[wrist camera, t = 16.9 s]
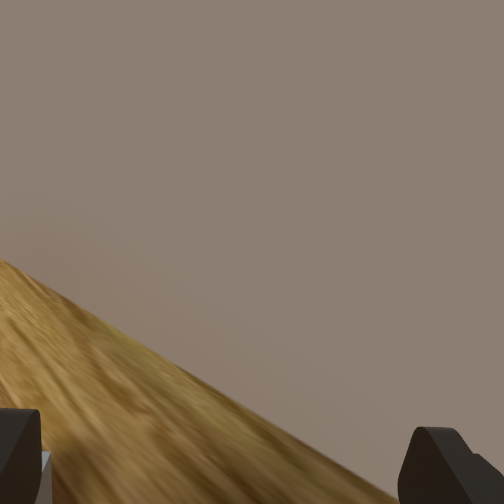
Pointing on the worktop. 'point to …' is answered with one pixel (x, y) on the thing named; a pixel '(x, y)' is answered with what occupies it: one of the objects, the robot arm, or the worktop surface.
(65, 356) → the worktop surface
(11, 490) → the robot arm
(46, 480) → the grey-blue square bottle
